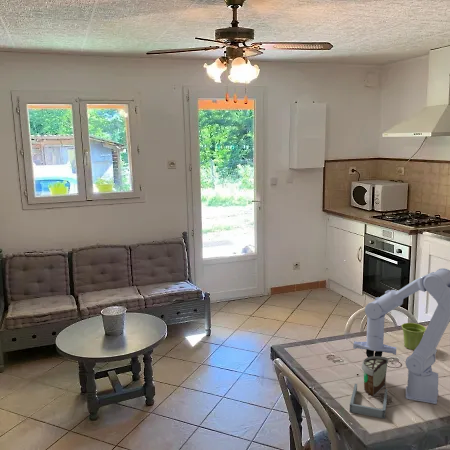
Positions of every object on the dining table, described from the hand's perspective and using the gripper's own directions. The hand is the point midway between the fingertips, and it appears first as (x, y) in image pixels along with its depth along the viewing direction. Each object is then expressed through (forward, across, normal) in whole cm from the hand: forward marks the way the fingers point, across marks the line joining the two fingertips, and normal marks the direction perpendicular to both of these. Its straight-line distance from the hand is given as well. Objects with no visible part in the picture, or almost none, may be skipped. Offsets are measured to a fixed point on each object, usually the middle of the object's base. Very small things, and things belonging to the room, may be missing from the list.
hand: (373, 369), depth 166 cm
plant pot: (+4, -13, -32) cm, 35 cm away
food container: (+4, 0, +7) cm, 8 cm away
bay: (+3, 0, +18) cm, 18 cm away
